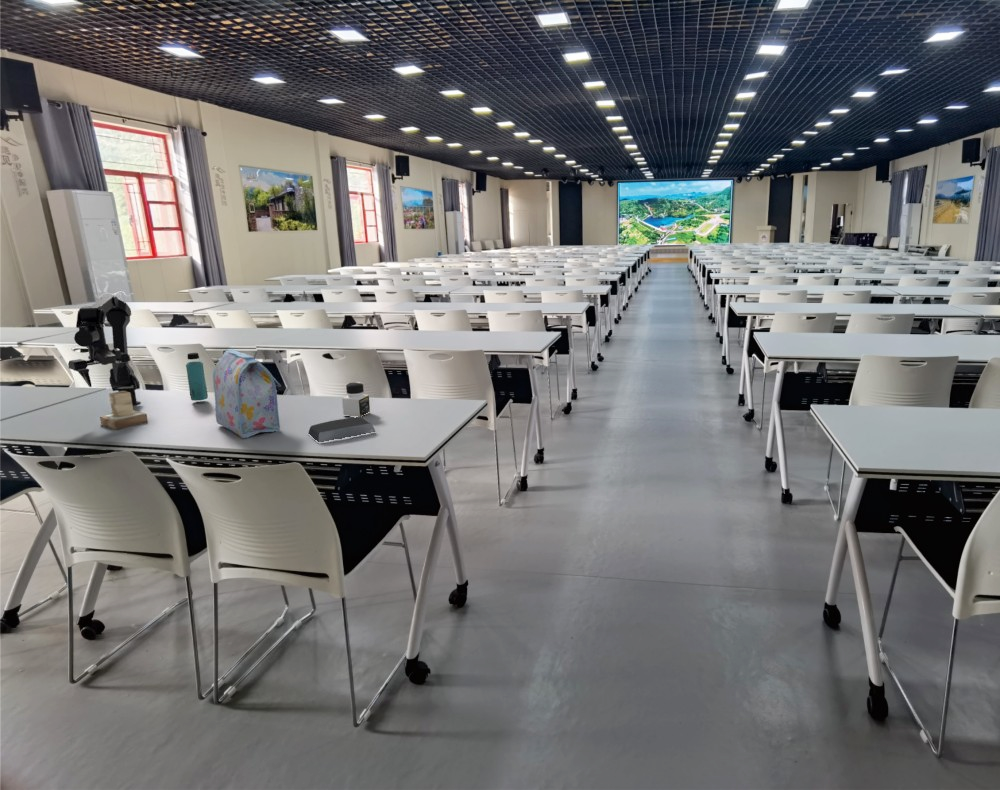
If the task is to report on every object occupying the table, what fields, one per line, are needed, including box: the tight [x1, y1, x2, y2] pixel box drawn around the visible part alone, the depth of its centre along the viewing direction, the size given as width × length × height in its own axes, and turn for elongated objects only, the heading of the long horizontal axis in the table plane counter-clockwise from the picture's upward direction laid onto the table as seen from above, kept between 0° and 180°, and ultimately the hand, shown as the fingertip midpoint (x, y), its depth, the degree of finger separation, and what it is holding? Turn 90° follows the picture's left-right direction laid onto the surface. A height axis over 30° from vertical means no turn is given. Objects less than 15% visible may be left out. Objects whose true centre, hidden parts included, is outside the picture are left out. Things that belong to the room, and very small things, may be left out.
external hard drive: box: [307, 417, 376, 442], centre depth 216 cm, size 13×19×4 cm
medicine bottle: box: [341, 381, 371, 417], centre depth 237 cm, size 7×7×12 cm
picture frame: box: [99, 409, 149, 430], centre depth 233 cm, size 11×11×3 cm
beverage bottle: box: [185, 352, 209, 402], centre depth 258 cm, size 6×7×20 cm
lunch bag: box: [212, 348, 282, 439], centre depth 222 cm, size 22×17×26 cm
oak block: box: [108, 391, 134, 417], centre depth 232 cm, size 5×5×8 cm
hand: (104, 384), depth 237 cm, fingers open, 9 cm apart
